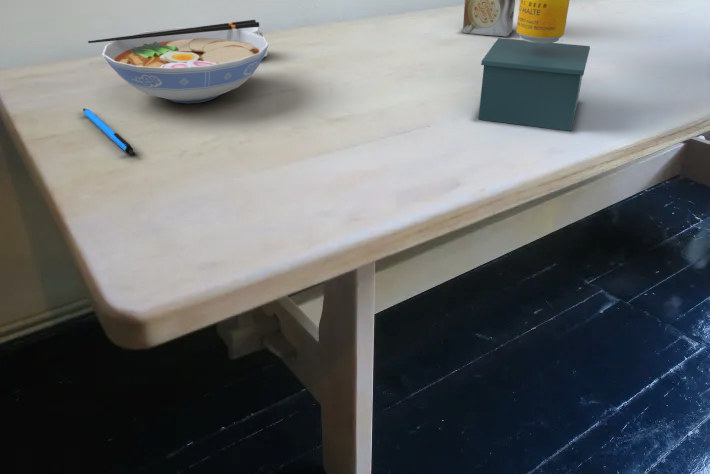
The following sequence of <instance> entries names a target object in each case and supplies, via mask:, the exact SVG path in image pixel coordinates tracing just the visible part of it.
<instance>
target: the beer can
mask: <svg viewBox="0 0 710 474" xmlns="http://www.w3.org/2000/svg"><path fill="white" fill-rule="evenodd" d="M569 6H570V0H519V7H518V14H517V23H516V30H515V31H516V33H517V35H518V36H519V40H524V41H528V42H533V43H558V42H559V41H560V38H562V37H563V36H564V35H565V32H566V31H565V30H566V25H567V19H568V13H569V12H568V11H569Z"/></svg>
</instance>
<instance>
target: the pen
mask: <svg viewBox="0 0 710 474" xmlns="http://www.w3.org/2000/svg"><path fill="white" fill-rule="evenodd" d="M82 110H83V114H84V116H85V117H87V118H88V119H89V120H90V121H91V122H92V123H93V124H94V125H95V126H97V127H98V129H100V130H101V131H102V133H104V134H105V135H106V136H107V137H108V138H110V140H112V141H113V142H114V143H115V144H116V145H117V146H118V147H120V148H121V149H122V150H123V151H124V152H125V153H126V154H128V155H132V156H135V155H136V152H134V148H133V147H132V145H131V144H130V142H127V140H125V138H123V137H122V136H121V135H120V134H119V133H118V132H116V131H114V130H113V129H112V128H111V127H109V125H107V124H106V123H105V122H104V121H103V120H102V119H101V118H99V116H97V115H96V114H95V113H94V112H93V111H92V110H90V109H88V108H83V109H82Z"/></svg>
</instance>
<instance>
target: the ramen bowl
mask: <svg viewBox="0 0 710 474" xmlns="http://www.w3.org/2000/svg"><path fill="white" fill-rule="evenodd" d="M252 27H257V28H260V22H259V21H256V19H248V20H247V19H246V20H240V21H232V22H225V23H217V24H210V25H202V26H188V27H187V26H186V27H168V28H162V29H161V28H160V29H155V30H154V29H153V30H148V31H141V32H137V33H134V34H130V35H127V36H126V35H125V36H118V37H110V38H102V39H94V40H87V43H88V44H94V43H95V44H96V43H105V42H110V43H108V44H106V45H104V48H103V51H102V53H101V54H102V56H103V58H104V59H105V60H106V62H107V63H108V65H109V66H110V67H111V69H113V70H114V71H115V73H117V75H118V76H119V77H121V79H123V80H124V81H125V82H126V83H128V84H129V85H130V86H132V87H133V88H134V89H136V90H138V91H140V92H142V93H144V94H146V95H149V96H153V97H157V98H163V99H166V100H169V101H170V102H174V103H178V104H187V105H188V104H189V105H190V104H200V103H205V102H209V101H211V100H214V99H217V98H218V97H219V96H221V95H223V94H226V93H228V92H230V91H233V90H235V89H238V88H239V87H240V86H242V85H244V83H246V82H247V80H249V79H250V78H251V76H252V75H253V74H254V73H255V71H257V69H258V68H259V66H260V64H261V62H262V60H263V59H264V58H265V57H264V55H265V52H266V51H267V50H268V47H269V42H267V39H266V37H265V36H263V37H262V36H260V35H259V34H258V35H257V34H255V33H252V32H249V31H243V30H237V29H242V28H252Z"/></svg>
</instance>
